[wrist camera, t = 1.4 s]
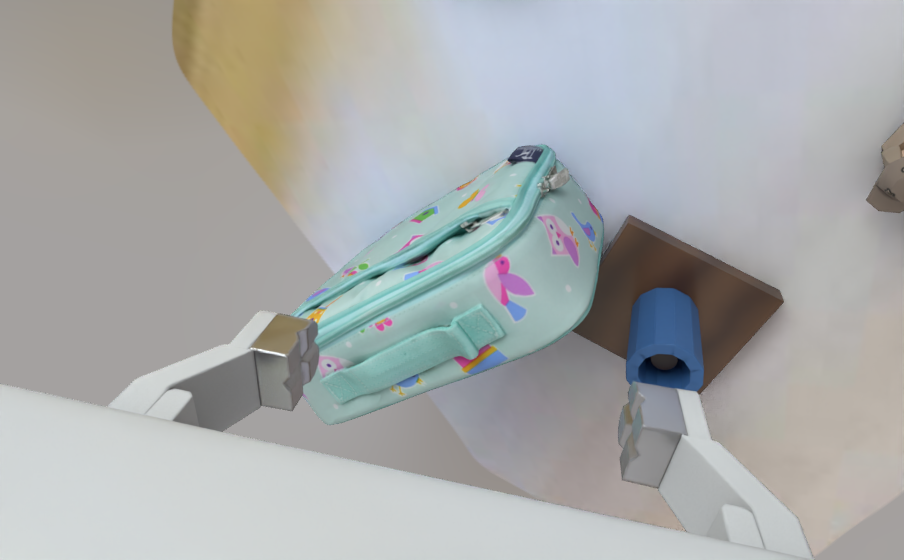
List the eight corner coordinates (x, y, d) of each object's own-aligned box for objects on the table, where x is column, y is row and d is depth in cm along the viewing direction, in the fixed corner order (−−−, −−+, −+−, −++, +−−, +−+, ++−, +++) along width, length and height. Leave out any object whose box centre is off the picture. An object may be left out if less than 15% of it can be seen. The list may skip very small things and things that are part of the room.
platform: (780, 290, 47) (802, 349, 39) (696, 384, 53) (700, 450, 46) (629, 214, 48) (622, 257, 40) (565, 315, 54) (548, 368, 47)
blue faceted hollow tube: (710, 306, 47) (719, 367, 40) (674, 350, 50) (676, 415, 42) (653, 277, 48) (650, 331, 40) (620, 322, 50) (612, 381, 43)
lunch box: (566, 109, 46) (502, 188, 28) (630, 211, 48) (607, 347, 30) (352, 251, 59) (216, 365, 41) (409, 325, 61) (302, 465, 43)
